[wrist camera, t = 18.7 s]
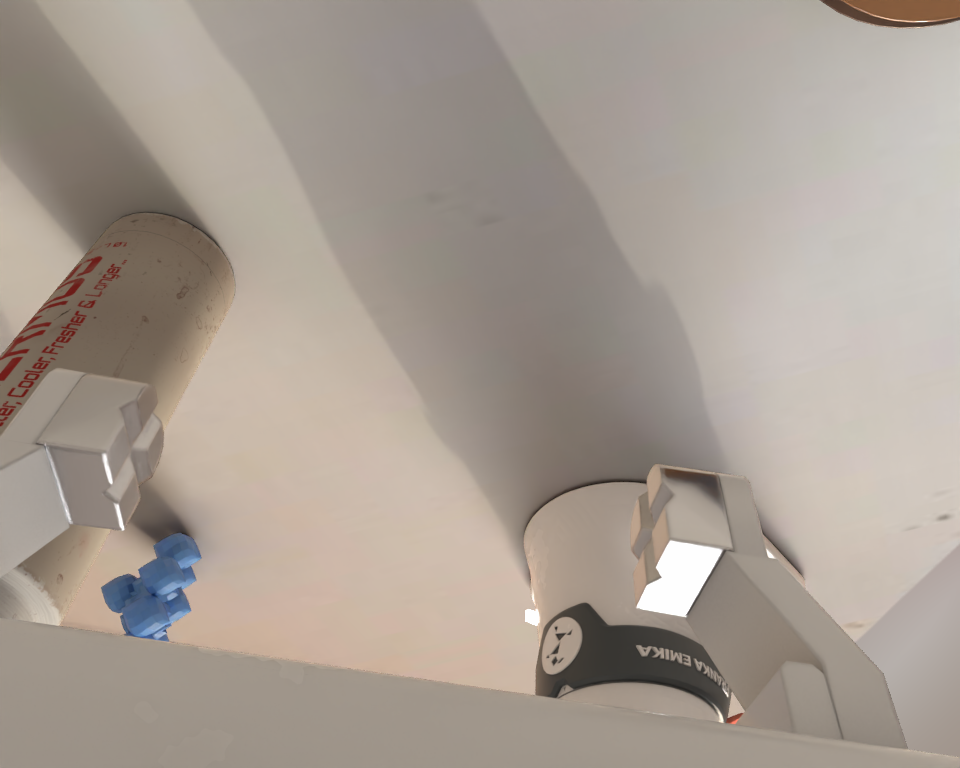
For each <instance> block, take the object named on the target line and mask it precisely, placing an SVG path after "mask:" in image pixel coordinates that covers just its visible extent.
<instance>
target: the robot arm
mask: <svg viewBox="0 0 960 768" xmlns="http://www.w3.org/2000/svg"><path fill="white" fill-rule="evenodd" d="M158 402H159V401H158V396H157V392H156V387H155V386H153V385H151V384H148V383H142V382H137V381H131V380H126V379H120V378H115V377H110V376H104V375H99V374H93V373H84V372H79V371H73V370H68V369H63V368H56V369H54V370H52V371H50V372H49V373H48V374H47V375H46V376H45V378H44V379H43V380H42V381H41V383H40V384H39V385H38V387H37V388H36V389H35V391H34V392H33V393H32V395H31V396H30V397H29V399H28V400H27V401H26V403H25V404H24V405H23V407H22V408H21V409H20V411H19V412H18V413H17V415H16V416H15V417H14V419H13V420H12V421H11V423H10V424H9V425H8V427H7V428H6V429H5V431H4V432H3V433H2V434H1V436H0V578H1V577H2V576H4V575H5V574H6V573H8V572H9V571H11V570H12V569H13V568H15V567H16V566H17V565H19V564H20V563H21V562H23V561H24V560H26V559H27V558H28V557H30V556H31V555H32V554H34V553H35V552H36V551H38V550H39V549H41V548H42V547H43V546H45V545H46V544H47V543H49V542H50V541H51V540H53V539H54V538H56V537H57V536H58V535H60V534H61V533H62V532H64V531H65V530H66V529H68V528H69V527H70V525H69V524H73V525H81V526H89V527H97V528H105V529H113V530H121V531H124V530H125V528H126V526H127V524H128V522H129V520H130V518H131V517H132V515H133V513H134V511H135V509H136V507H137V505H138V503H139V501H140V499H141V496H140V491H139V486H138V485H140V484H141V483H143V482H145V481H146V480H148V479H150V478H151V477H152V476H153V474H154V472H155V470H156V468H157V466H158V464H159V461H160V457H161V453H162V449H163V442H164V430H163V424H162V421H161V420H160V419H159V418H158V417H157V416H156V415H155V414H154V413H153V411H154V410H155V408H156V406H157V404H158ZM646 480H647V484H645V483H635V482H612V483H602V484H595V485H590V486H586V487H582V488H579V489H575V490H573V491H570V492H567V493H565V494H563V495H561V496H559V497H557V498H555V499H553V500H552V501H550V502H549V503H547V504H546V505H544V506H543V507H542V508H541V509H540V510H539V511H538V512H537V513H536V514H535V515H534V516H533V517H532V519H531V520H530V522H529V524H528V526H527V528H526V530H525V534H524V550H525V554H526V558H527V561H528V565H529V570H530V575H531V582H530V591H531V599H532V601H533V602H534V603H535V611H536V612H535V611H532V610H529V609H527V610H526V621H527V622H529V623H532V624H535V625H537V630H538V640H539V655H538V661H537V666H536V695H531V694H524V693H517V692H510V691H503V690H496V689H489V688H482V687H475V686H468V685H461V684H454V683H448V682H441V681H434V680H427V679H420V678H413V677H406V676H399V675H392V674H385V673H378V672H372V671H365V670H358V669H351V668H344V667H337V666H331V665H324V664H317V663H310V662H303V661H297V660H290V659H283V658H276V657H269V656H262V655H256V654H249V653H242V652H235V651H228V650H221V649H215V648H208V647H201V646H194V645H187V644H180V643H173V642H167V641H160V640H153V639H146V638H139V637H132V636H125V635H119V634H112V633H105V632H98V631H91V630H84V629H77V628H71V627H64V626H57V625H50V624H43V623H36V622H29V621H23V620H16V619H9V618H2V617H0V768H960V757H956V756H949V755H942V754H935V753H929V752H922V751H915V750H908V747H907V744H906V741H905V738H904V735H903V732H902V729H901V726H900V723H899V719H898V716H897V714H896V710H895V707H894V704H893V701H892V698H891V695H890V692H889V689H888V686H887V683H886V680H885V677H884V674H883V673H882V671H881V670H880V669H879V668H878V667H877V666H876V665H875V664H874V663H873V662H872V661H871V660H870V658H869V657H868V656H867V655H866V654H865V653H864V652H863V651H862V650H861V649H860V648H859V647H858V646H857V644H856V643H855V642H854V641H853V640H852V639H851V638H850V637H849V636H848V635H847V634H846V633H845V632H844V630H843V629H842V628H841V627H840V626H839V625H838V624H837V623H836V622H835V621H834V620H833V619H832V618H831V616H830V615H829V614H828V613H827V612H826V611H825V610H824V609H823V608H822V607H821V606H820V605H819V604H818V602H817V601H816V600H815V599H814V598H813V597H812V596H811V595H810V594H809V593H808V592H807V591H806V587H805V580H804V578H803V577H802V576H801V575H800V573H799V572H798V571H797V570H796V569H795V568H794V567H793V566H792V565H791V564H790V563H789V562H788V560H787V559H786V558H785V557H784V556H783V555H782V554H781V553H780V552H779V551H778V550H777V549H776V548H775V547H774V545H773V544H772V543H771V542H770V541H769V540H768V539H767V538H766V537H765V536H764V535H763V534H762V530H761V526H760V522H759V518H758V514H757V510H756V506H755V502H754V498H753V494H752V490H751V485H750V482H749V481H748V479H747V478H746V477H744V476H737V475H730V474H724V473H717V472H716V473H713V472H710V471H703V470H697V469H690V468H683V467H676V466H670V465H663V464H656V463H655V465H654V466H653V467H652V468H651V470H650V472H649V474H648V476H647V478H646ZM731 692H733V693H734V695H735V696H736V698H737V700H738V701H739V703H740V704H741V706H742V707H743V709H744V710H745V712H744V713H740V714H737V715H735V716H732V717H730V718H727V717H728V712H729V706H730V699H731Z"/></svg>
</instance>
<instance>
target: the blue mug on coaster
mask: <svg viewBox="0 0 960 768" xmlns="http://www.w3.org/2000/svg"><path fill="white" fill-rule="evenodd" d="M842 1H843V2H845V3H846V4H848V5H850V6H851V7H853V8H854V9H857V10H859V11H862V12H864V13H866V14H869V15H871V16H874V17H878V18H883V19H887V20H891V21H900V22H911V23H914V22H935V21H941V20H947V19H953V18H958V17H960V0H842Z"/></svg>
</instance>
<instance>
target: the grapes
mask: <svg viewBox="0 0 960 768" xmlns="http://www.w3.org/2000/svg"><path fill="white" fill-rule="evenodd" d="M153 547H154V550H155V553H156V556H157V559H154V560H152V561H151V562H149V563H147V564H146V565H144V566H143V567H141V568H140V569H138V571H139V574H140V578H136V577H135V576H133V575H131V574H126V575H123V576H119V577H117V578H115V579H113V580H112V581H110V582H108V583H107V584H105V585H104V586H102V587H101V589H102V593H103V596H104V599H105V602H106V604H107V605H108V607H109V608H110V609H111V610H112V611H113V612H116V613H123V615H121V616H120V618H121V622H122V625H123V628H124V630H125V632H126V634H125V636H132V637H139V638H146V639H153V640H160V641H167V642H169V639H168V637H167V634H166V633H167V632H166V629H167V628H169V627H170V626H172V625H171V623H173V622H175V621H177V620H179V619H180V618H182V617H183V616H185V615H186V614H187V613H189V612H190V611H191V608H190V605H189V602H188V600H187V597H186V595H185V594H184V592H183V589H184V588H186V587H187V586H189V585H190V584H192V583H193V582H195V581H196V577H195V574H194V572H193V569H192V567H191V565H192V564H194V563H195V562H197V561H198V560H200V559H201V555H200V552H199V549H198V547H197V545H196V543H195V541H194V539H193V538H191V537H189V536H187V535H185V534H182V533H176V534H172V535H170V536H167V537H166V538H164V539H162V540H161V541H159V542H158V543H156V544H155V545H153Z"/></svg>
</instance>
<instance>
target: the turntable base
mask: <svg viewBox="0 0 960 768" xmlns="http://www.w3.org/2000/svg"><path fill="white" fill-rule="evenodd" d="M820 1H821V2H823V3H824V4H826V5H827V6H829V7H831V8H832V9H834V10H835V11H837V12H838V13H840V14H843V15H845V16H847V17H850V18H852V19H854V20H856V21H860V22H864V23H867V24H871V25H875V26H881V27H890V28H923V27H930V26H936V25H943V24H947V23H951V22H954V21H958V20H960V17H958V18H953V19H947V20H941V21H935V22H914V23H911V22H900V21H891V20H887V19H883V18H878V17H874V16H871V15H869V14H866V13H864V12H862V11H859V10H857V9H854V8H853V7H851V6H850V5H848V4H846V3H845V2H843V1H842V0H820Z"/></svg>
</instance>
